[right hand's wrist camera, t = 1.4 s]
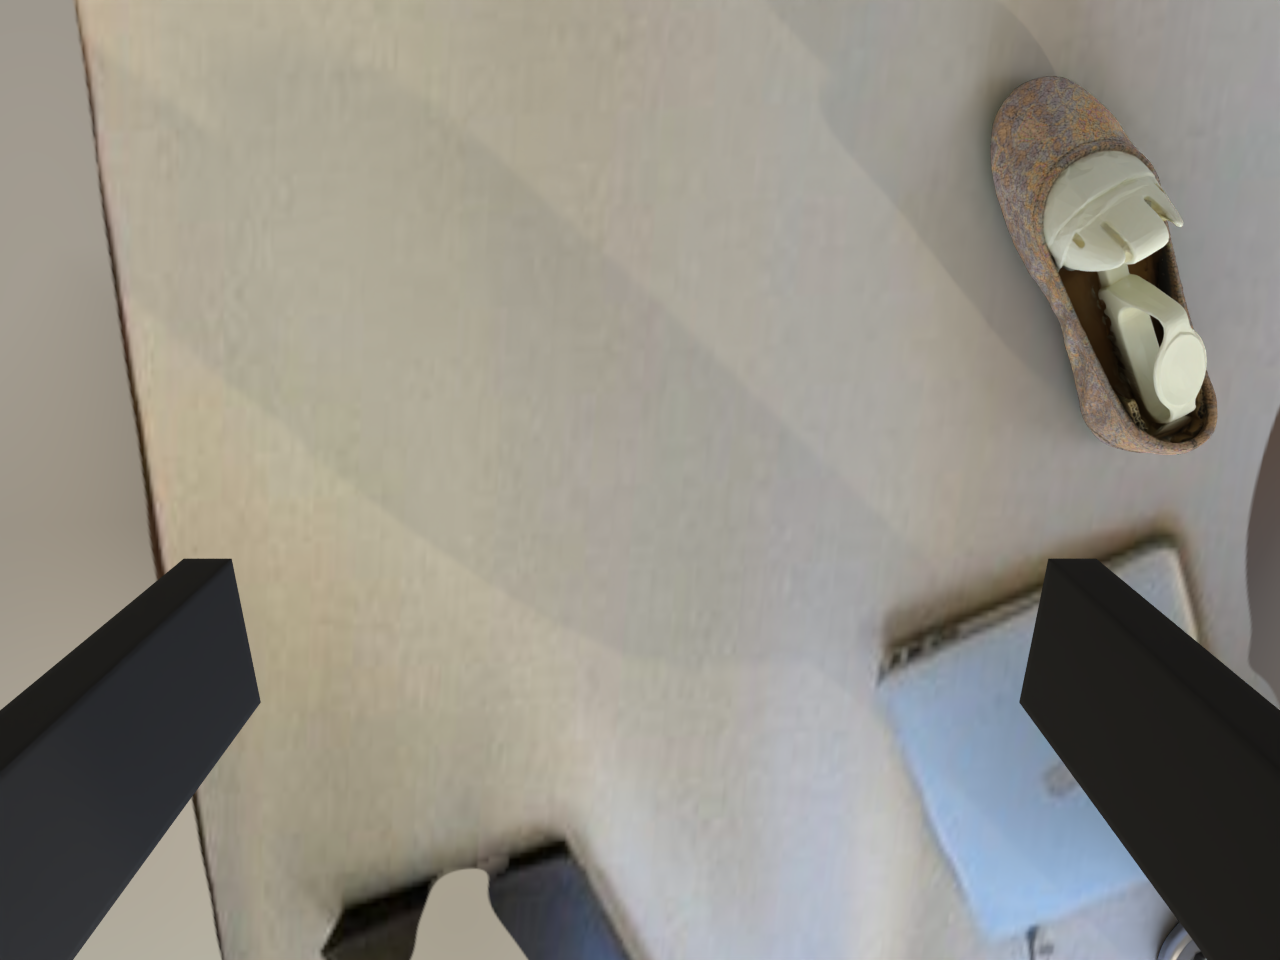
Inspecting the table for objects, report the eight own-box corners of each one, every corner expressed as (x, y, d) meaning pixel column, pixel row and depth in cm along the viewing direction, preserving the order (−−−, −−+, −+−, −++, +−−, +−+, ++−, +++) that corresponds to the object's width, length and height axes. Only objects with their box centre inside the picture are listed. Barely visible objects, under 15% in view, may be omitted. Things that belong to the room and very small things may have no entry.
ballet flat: (1081, 43, 46) (1171, 14, 38) (1210, 396, 53) (1307, 432, 45) (948, 125, 47) (1008, 113, 40) (1091, 457, 55) (1165, 502, 47)
